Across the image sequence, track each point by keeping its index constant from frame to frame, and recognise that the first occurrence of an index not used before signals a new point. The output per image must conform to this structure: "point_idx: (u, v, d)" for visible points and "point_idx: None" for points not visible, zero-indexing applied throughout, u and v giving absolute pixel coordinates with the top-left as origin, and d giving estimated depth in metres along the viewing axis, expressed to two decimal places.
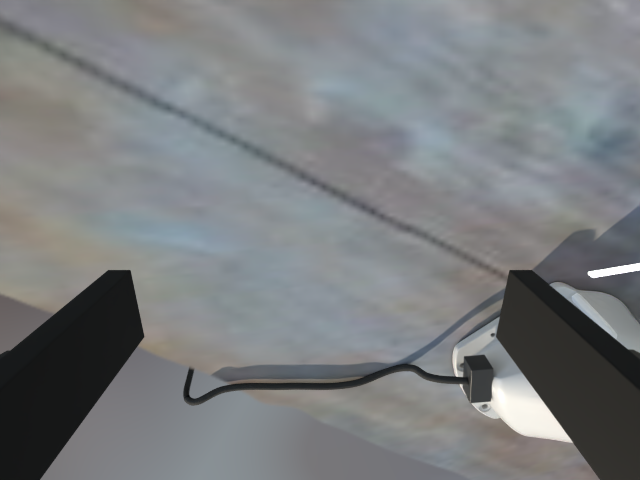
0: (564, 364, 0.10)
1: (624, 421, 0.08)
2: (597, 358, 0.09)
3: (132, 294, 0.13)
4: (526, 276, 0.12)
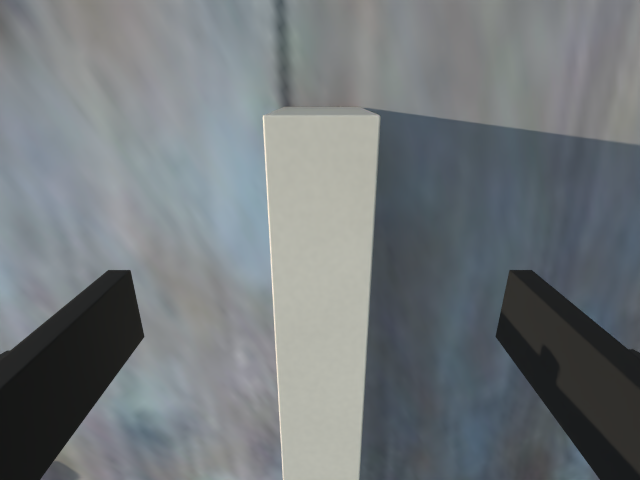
0: (564, 364, 0.10)
1: (624, 421, 0.08)
2: (597, 358, 0.09)
3: (133, 294, 0.13)
4: (526, 276, 0.12)
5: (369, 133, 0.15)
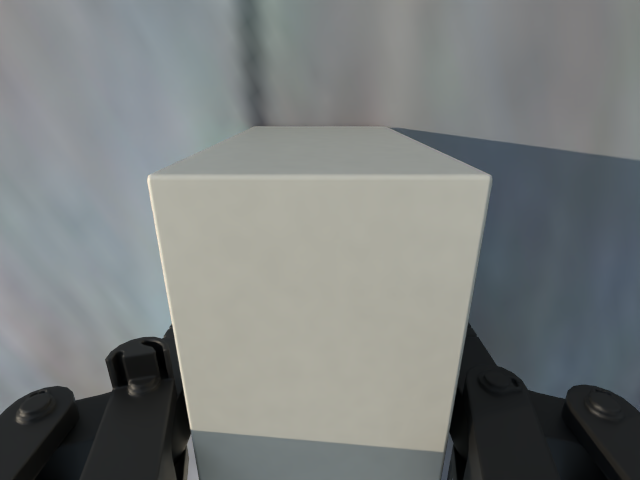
0: None
1: None
2: None
3: None
4: None
5: (458, 225, 0.05)
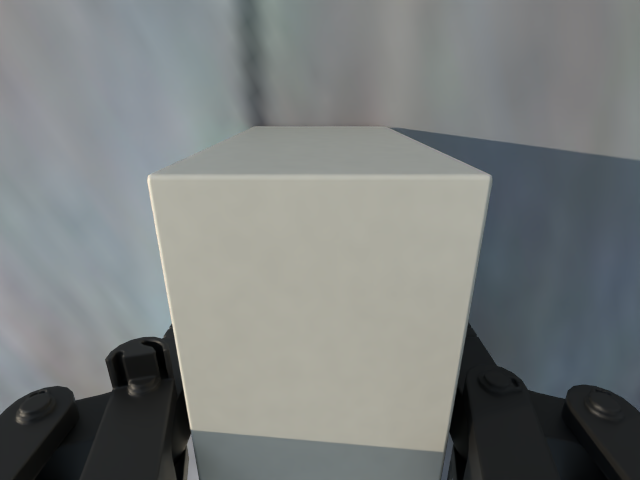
0: None
1: None
2: None
3: None
4: None
5: (457, 225, 0.05)
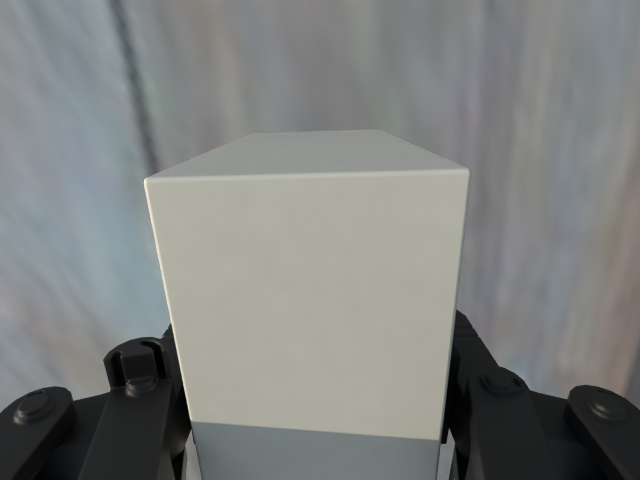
0: None
1: None
2: None
3: None
4: None
5: (440, 218, 0.06)
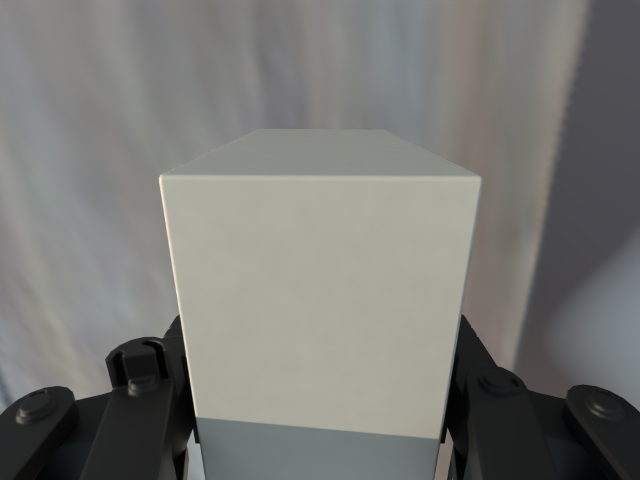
0: None
1: None
2: None
3: None
4: None
5: (451, 224, 0.06)
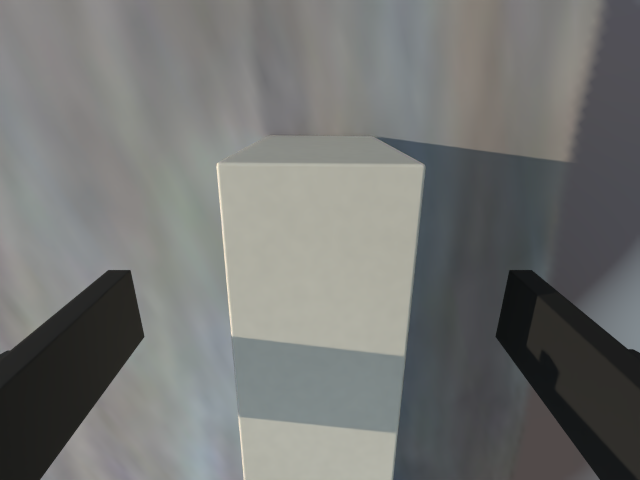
0: (564, 364, 0.10)
1: (624, 421, 0.08)
2: (597, 358, 0.09)
3: (132, 294, 0.13)
4: (526, 276, 0.12)
5: (405, 195, 0.09)
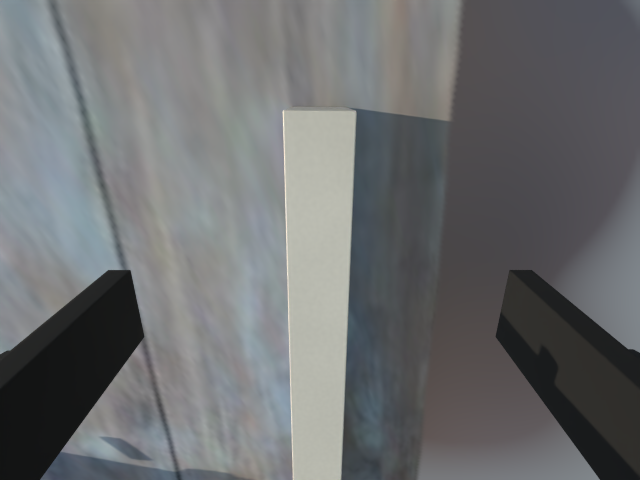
0: (564, 364, 0.10)
1: (624, 421, 0.08)
2: (597, 358, 0.09)
3: (133, 294, 0.13)
4: (526, 276, 0.12)
5: (349, 122, 0.24)
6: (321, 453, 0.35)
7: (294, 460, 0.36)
